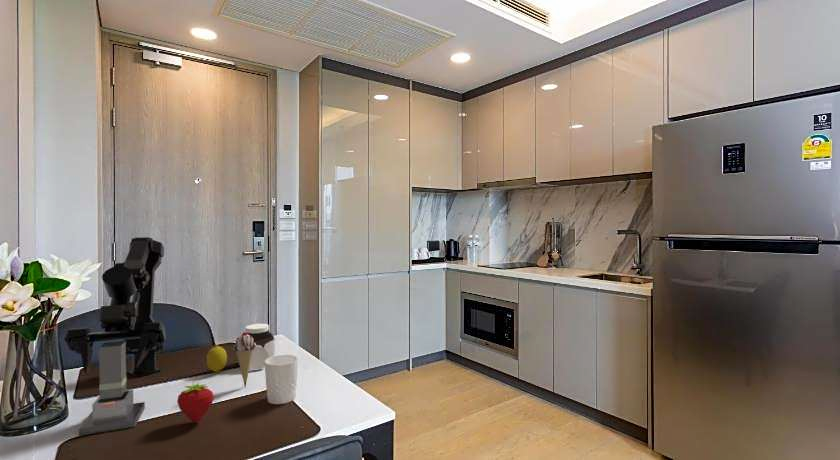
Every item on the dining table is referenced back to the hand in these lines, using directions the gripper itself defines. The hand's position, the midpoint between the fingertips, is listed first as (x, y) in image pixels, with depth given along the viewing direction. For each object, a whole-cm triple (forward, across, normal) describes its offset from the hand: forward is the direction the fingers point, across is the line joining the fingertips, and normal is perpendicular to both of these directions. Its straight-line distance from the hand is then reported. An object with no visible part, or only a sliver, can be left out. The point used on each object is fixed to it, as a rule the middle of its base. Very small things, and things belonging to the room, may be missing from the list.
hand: (111, 369), depth 95 cm
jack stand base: (+8, 0, +10) cm, 12 cm away
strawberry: (+13, +17, +4) cm, 22 cm away
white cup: (+9, +36, +8) cm, 38 cm away
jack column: (+3, 0, +5) cm, 6 cm away
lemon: (-10, +20, +27) cm, 35 cm away
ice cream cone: (+1, +27, +16) cm, 32 cm away
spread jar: (-12, +31, +29) cm, 44 cm away
